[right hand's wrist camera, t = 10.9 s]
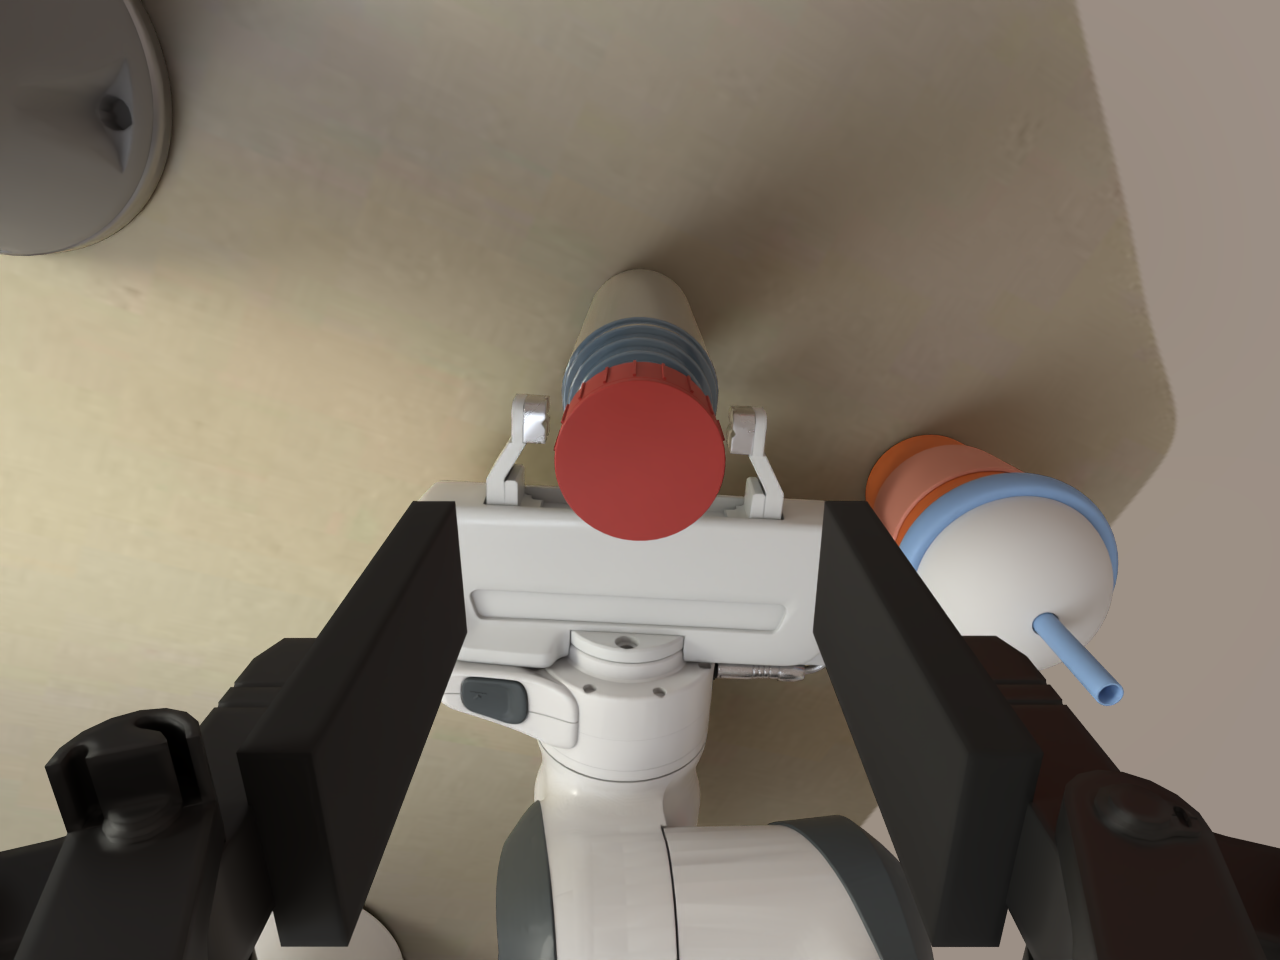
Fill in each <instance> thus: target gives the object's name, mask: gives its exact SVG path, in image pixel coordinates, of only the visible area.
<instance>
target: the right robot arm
mask: <svg viewBox="0 0 1280 960" xmlns="http://www.w3.org/2000/svg"><path fill="white" fill-rule="evenodd" d="M171 131H172V100H171V89H170V83H169V77H168V72H167V67H166V63H165V60H164V56H163V52H162V49H161V46H160V43H159V41H158V38H157V35H156V32H155V30H154V27H153V25H152V23H151V21H150V19H149V16H148V14H147V12H146V10H145V8H144V6H143V5H142V3H141V1H140V0H0V254H5V255H18V256H31V255H43V254H51V253H59V252H66V251H71V250H76V249H81V248H84V247H87V246H90V245H93V244H95V243H97V242H100V241H102V240H104V239H106V238H108V237H109V236H111V235H113V234H114V233H116V232H118V231H119V230H120V229H122V228H123V227H124V226H125V225H127V224H128V223H129V222H130V221H131V220H132V219H133V218H134V217H135V216H136V215H137V214H138V213H139V212H140V211H141V209H142V208H143V207H144V205H145V204H146V203H147V201H148V200H149V199H150V197H151V195H152V193H153V192H154V190H155V188H156V186H157V184H158V182H159V180H160V177H161V175H162V173H163V170H164V166H165V163H166V160H167V156H168V151H169V146H170V141H171ZM466 635H467V622H466V611H465V601H464V590H463V579H462V568H461V557H460V547H459V536H458V525H457V514H456V503H455V501H413V502H412V503H411V505H410V506H409V508H408V509H407V510H406V512H405V513H404V515H403V516H402V517H401V519H400V520H399V522H398V523H397V525H396V526H395V527H394V529H393V530H392V532H391V533H390V535H389V536H388V537H387V539H386V540H385V542H384V543H383V545H382V546H381V547H380V549H379V550H378V552H377V553H376V554H375V556H374V557H373V559H372V560H371V562H370V563H369V564H368V566H367V567H366V569H365V570H364V572H363V573H362V574H361V576H360V577H359V579H358V580H357V581H356V583H355V584H354V586H353V587H352V589H351V590H350V591H349V593H348V594H347V596H346V597H345V599H344V600H343V601H342V603H341V604H340V606H339V607H338V608H337V610H336V611H335V613H334V614H333V616H332V617H331V618H330V620H329V621H328V623H327V624H326V626H325V627H324V628H323V630H322V631H321V633H320V634H319V635H318V637H317V638H284V639H282V640H281V641H279V642H278V643H276V644H275V645H273V646H272V647H270V648H269V649H267V650H266V651H264V652H263V653H261V654H260V655H258V656H257V657H255V658H254V659H253V660H252V661H251V663H250V664H249V665H248V666H247V668H246V669H245V670H244V671H243V673H242V674H241V675H240V676H239V677H238V679H237V680H236V681H235V682H234V683H235V685H234V687H230V689H229V690H228V691H227V692H226V694H225V695H224V696H223V697H222V699H221V700H220V701H219V702H218V703H219V705H218V708H214V709H213V710H212V711H211V712H210V714H209V715H208V716H207V717H206V718H205V720H204V721H203V722H202V723H201V725H200V726H199V722H198V721H197V720H196V719H195V718H193V717H192V716H191V715H190V714H188V713H187V712H184V711H179V710H173V709H168V708H161V709H149V710H139V711H136V712H132V713H128V714H125V715H121V716H118V717H114V718H111V719H109V720H106V721H104V722H102V723H100V724H98V725H96V726H94V727H91V728H89V729H87V730H85V731H83V732H81V733H80V734H79V735H77V736H76V737H74V738H73V739H72V740H70V741H69V742H67V743H66V744H65V745H63V746H62V747H60V748H59V749H58V751H57V752H56V753H55V754H54V756H53V757H52V758H51V759H50V761H49V762H48V763H47V764H46V765H45V769H46V772H47V775H48V778H49V781H50V784H51V787H52V789H53V792H54V795H55V798H56V801H57V804H58V807H59V810H60V813H61V816H62V818H63V821H64V824H65V827H66V830H67V836H64V837H61V838H58V839H54V840H50V841H46V842H41V843H37V844H32V845H28V846H24V847H19V848H15V849H11V850H6V851H2V852H0V960H258V959H257V955H256V951H255V945H256V943H257V941H258V939H259V937H260V935H261V933H262V931H263V929H264V927H265V925H266V923H267V921H268V919H269V917H270V915H271V913H272V911H273V914H274V919H275V923H276V927H277V932H278V936H279V940H280V945H281V947H348V945H349V943H350V940H351V937H352V935H353V932H354V929H355V927H356V924H357V921H358V919H359V916H360V914H361V911H362V908H363V906H364V903H365V900H366V898H367V895H368V893H369V890H370V887H371V885H372V882H373V879H374V877H375V874H376V872H377V869H378V866H379V864H380V861H381V858H382V856H383V853H384V850H385V848H386V845H387V843H388V840H389V837H390V835H391V832H392V829H393V827H394V824H395V822H396V819H397V816H398V814H399V811H400V808H401V806H402V803H403V800H404V798H405V795H406V793H407V790H408V787H409V785H410V782H411V779H412V777H413V774H414V772H415V769H416V766H417V764H418V761H419V758H420V756H421V753H422V751H423V748H424V745H425V743H426V740H427V737H428V735H429V732H430V729H431V727H432V724H433V722H434V719H435V716H436V714H437V711H438V708H439V706H440V703H441V701H442V698H443V695H444V693H445V690H446V687H447V685H448V682H449V679H450V677H451V674H452V672H453V669H454V666H455V664H456V661H457V658H458V656H459V653H460V651H461V648H462V645H463V643H464V640H465V637H466ZM813 635H814V637H815V640H816V643H817V645H818V648H819V651H820V653H821V656H822V658H823V661H824V664H825V666H826V669H827V672H828V674H829V677H830V679H831V682H832V685H833V687H834V690H835V693H836V695H837V698H838V701H839V703H840V706H841V708H842V711H843V714H844V716H845V719H846V722H847V724H848V727H849V729H850V732H851V735H852V737H853V740H854V743H855V745H856V748H857V751H858V753H859V756H860V758H861V761H862V764H863V766H864V769H865V772H866V774H867V777H868V779H869V782H870V785H871V787H872V790H873V793H874V795H875V798H876V800H877V803H878V806H879V808H880V811H881V813H882V816H883V819H884V821H885V824H886V827H887V829H888V832H889V835H890V837H891V840H892V842H893V845H894V848H895V850H896V853H897V856H898V858H899V861H900V864H901V866H902V869H903V872H904V874H905V877H906V879H907V882H908V885H909V887H910V890H911V893H912V895H913V898H914V900H915V903H916V906H917V908H918V911H919V914H920V916H921V919H922V921H923V924H924V927H925V929H926V932H927V935H928V937H929V940H930V943H931V945H932V947H999V944H1000V940H1001V936H1002V932H1003V927H1004V923H1005V919H1006V914H1007V910H1008V909H1009V911H1010V913H1011V915H1012V917H1013V919H1014V921H1015V923H1016V925H1017V927H1018V929H1019V931H1020V933H1021V935H1022V937H1023V939H1024V941H1025V943H1026V948H1025V951H1024V955H1023V960H1280V848H1276V847H1271V846H1267V845H1262V844H1258V843H1254V842H1249V841H1245V840H1240V839H1236V838H1231V837H1227V836H1224V835H1221V834H1217V833H1214V832H1212V831H1211V829H1210V828H1209V826H1208V825H1207V823H1206V822H1205V821H1204V819H1203V818H1202V816H1201V815H1200V813H1199V812H1198V811H1196V810H1195V809H1194V808H1193V807H1191V806H1190V805H1189V804H1188V803H1187V802H1185V801H1184V800H1183V799H1182V798H1180V797H1179V796H1178V795H1176V794H1175V793H1173V792H1171V791H1169V790H1167V789H1165V788H1163V787H1161V786H1160V785H1158V784H1156V783H1154V782H1152V781H1150V780H1147V779H1143V778H1140V777H1137V776H1134V775H1131V774H1128V773H1124V772H1120V770H1119V769H1118V768H1117V767H1116V766H1115V764H1114V763H1113V762H1112V761H1111V759H1110V758H1109V757H1108V756H1107V754H1106V753H1105V752H1104V751H1103V750H1102V748H1101V747H1100V746H1099V745H1098V743H1097V742H1096V741H1095V740H1094V738H1093V737H1092V736H1091V735H1090V733H1089V732H1088V731H1087V730H1086V729H1085V727H1084V726H1083V725H1082V724H1081V722H1080V721H1079V720H1078V719H1077V717H1076V716H1075V715H1074V714H1073V712H1072V711H1071V710H1070V709H1069V708H1068V706H1067V705H1063V704H1062V699H1061V698H1060V696H1059V695H1058V694H1057V693H1056V691H1055V690H1054V689H1053V688H1052V687H1051V685H1047V684H1046V679H1045V678H1044V677H1043V675H1042V674H1041V673H1040V672H1039V670H1038V669H1037V668H1036V667H1035V666H1034V664H1033V663H1032V662H1031V661H1030V659H1029V658H1028V657H1027V656H1026V655H1025V654H1023V653H1021V652H1020V651H1018V650H1017V649H1015V648H1014V647H1012V646H1011V645H1009V644H1008V643H1006V642H1005V641H1003V640H1002V639H1000V638H999V637H997V636H962V635H961V634H960V633H959V631H958V630H957V628H956V627H955V626H954V624H953V623H952V621H951V620H950V618H949V617H948V616H947V614H946V613H945V611H944V610H943V608H942V607H941V606H940V604H939V603H938V601H937V600H936V599H935V597H934V596H933V594H932V593H931V591H930V590H929V589H928V587H927V586H926V584H925V583H924V581H923V580H922V579H921V577H920V576H919V574H918V573H917V572H916V570H915V569H914V567H913V566H912V564H911V563H910V562H909V560H908V559H907V557H906V556H905V554H904V553H903V552H902V550H901V549H900V547H899V546H898V545H897V543H896V542H895V540H894V539H893V537H892V536H891V535H890V533H889V532H888V530H887V529H886V527H885V526H884V525H883V523H882V522H881V520H880V519H879V517H878V516H877V515H876V513H875V512H874V510H873V509H872V508H871V506H870V505H869V503H868V502H867V501H825V503H824V514H823V525H822V536H821V547H820V557H819V568H818V579H817V590H816V601H815V611H814V622H813Z"/></svg>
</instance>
